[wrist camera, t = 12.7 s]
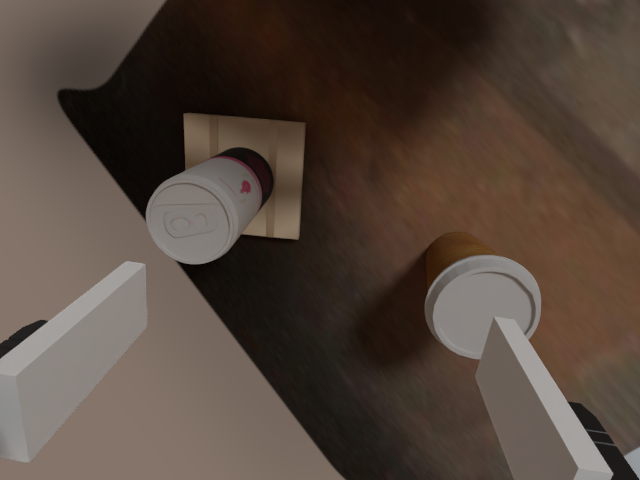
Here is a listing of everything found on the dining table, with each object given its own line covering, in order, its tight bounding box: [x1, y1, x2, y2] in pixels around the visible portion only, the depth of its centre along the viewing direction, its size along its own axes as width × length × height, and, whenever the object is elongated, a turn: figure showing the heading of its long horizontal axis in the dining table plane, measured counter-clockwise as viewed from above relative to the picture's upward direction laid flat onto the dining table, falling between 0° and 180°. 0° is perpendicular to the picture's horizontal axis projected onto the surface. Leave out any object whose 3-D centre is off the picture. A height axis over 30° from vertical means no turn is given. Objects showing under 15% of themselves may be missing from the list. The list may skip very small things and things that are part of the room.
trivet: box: [184, 113, 306, 239], centre depth 45 cm, size 12×12×1 cm
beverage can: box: [146, 147, 274, 264], centre depth 37 cm, size 7×7×15 cm
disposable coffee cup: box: [424, 232, 541, 359], centre depth 41 cm, size 10×10×12 cm
